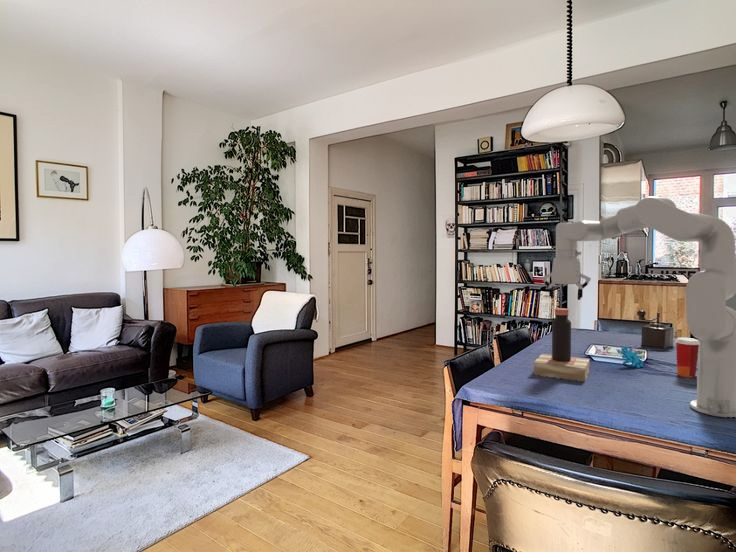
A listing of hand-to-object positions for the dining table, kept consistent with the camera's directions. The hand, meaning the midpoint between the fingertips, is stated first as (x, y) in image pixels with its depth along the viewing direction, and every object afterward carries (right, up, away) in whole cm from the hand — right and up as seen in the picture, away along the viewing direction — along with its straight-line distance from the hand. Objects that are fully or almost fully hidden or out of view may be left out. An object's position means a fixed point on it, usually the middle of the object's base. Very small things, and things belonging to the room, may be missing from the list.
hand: (565, 298), depth 174 cm
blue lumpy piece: (+33, -29, +11) cm, 45 cm away
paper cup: (+45, -29, -3) cm, 54 cm away
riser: (-1, -29, +2) cm, 29 cm away
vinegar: (-1, -24, +2) cm, 24 cm away
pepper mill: (+64, -26, +47) cm, 84 cm away
